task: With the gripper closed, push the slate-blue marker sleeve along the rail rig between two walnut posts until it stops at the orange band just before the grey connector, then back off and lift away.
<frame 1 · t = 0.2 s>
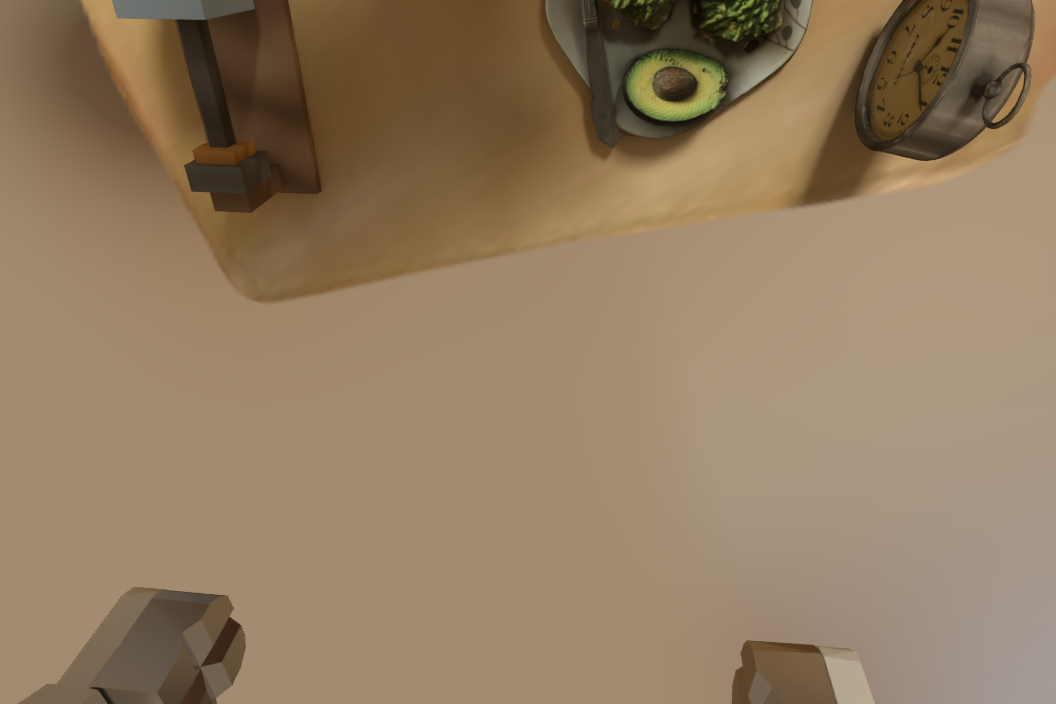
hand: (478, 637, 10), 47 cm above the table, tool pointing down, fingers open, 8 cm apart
salad plate: (672, 11, 47), on the table
alarm clock: (901, 54, 47), on the table
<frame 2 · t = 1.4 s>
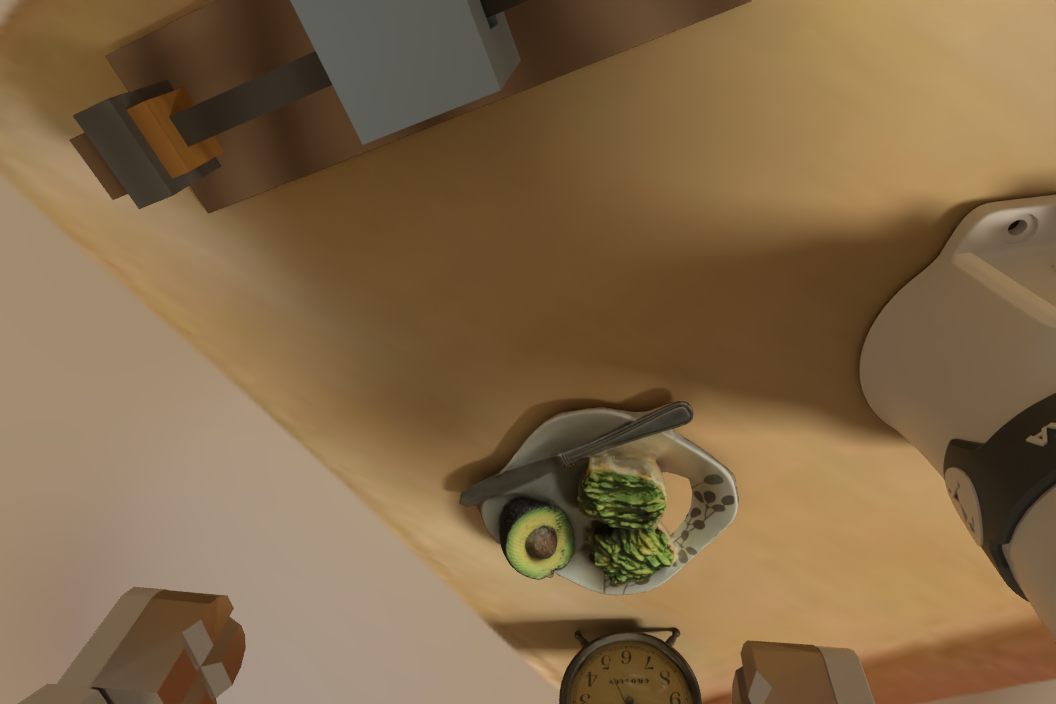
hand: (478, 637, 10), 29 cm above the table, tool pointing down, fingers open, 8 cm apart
salad plate: (598, 495, 49), on the table
sleeve: (417, 26, 26), point 6 cm above the table, slide at 0.0 cm
alarm clock: (628, 635, 57), on the table
rail rig: (411, 28, 32), on the table
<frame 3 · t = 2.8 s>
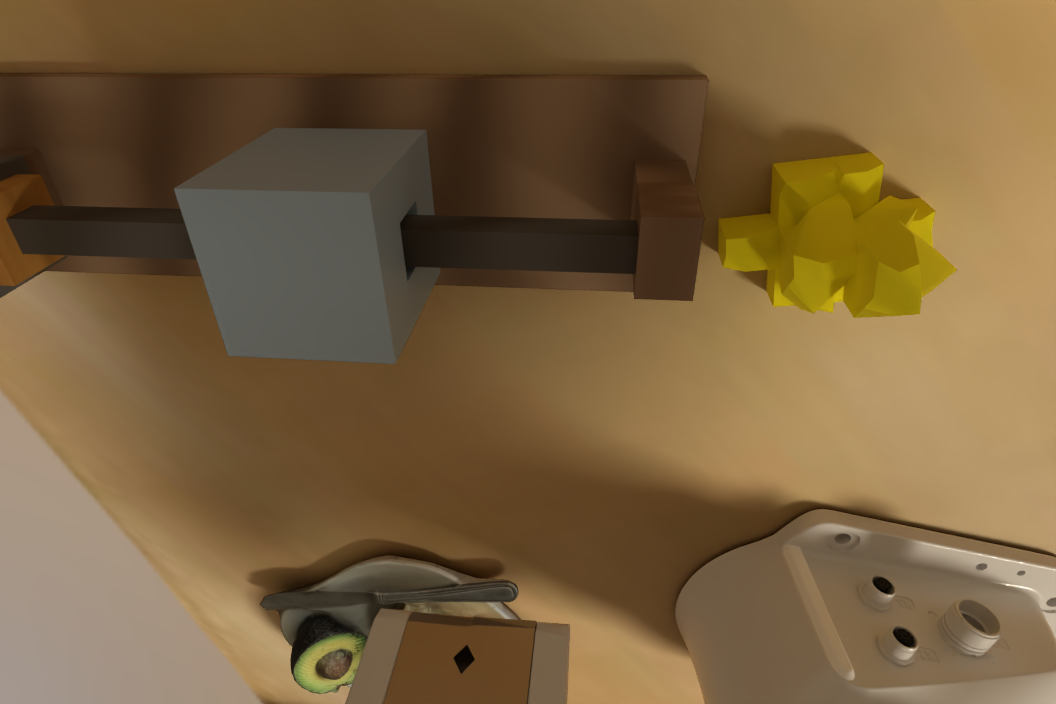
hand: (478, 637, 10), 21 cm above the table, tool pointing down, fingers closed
crumpled paper: (813, 223, 28), on the table
salad plate: (407, 623, 48), on the table
sleeve: (331, 238, 23), point 6 cm above the table, slide at 0.0 cm
rail rig: (336, 182, 29), on the table
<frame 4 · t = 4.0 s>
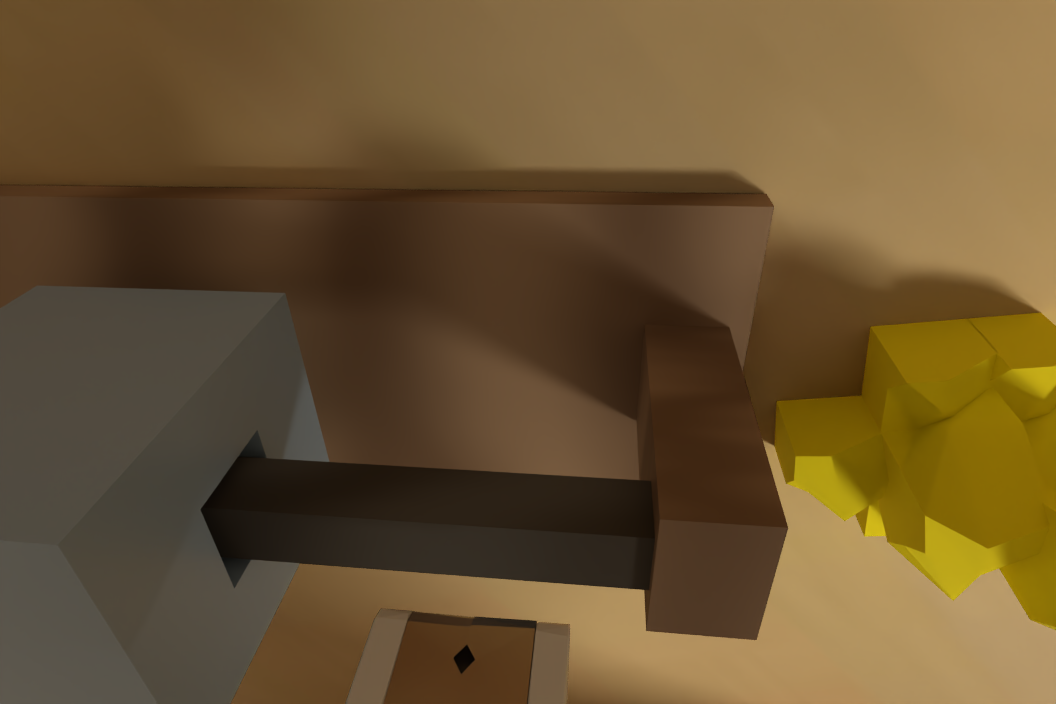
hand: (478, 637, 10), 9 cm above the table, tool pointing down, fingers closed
crumpled paper: (929, 407, 17), on the table
sleeve: (108, 497, 13), point 6 cm above the table, slide at 0.0 cm
rail rig: (180, 339, 18), on the table
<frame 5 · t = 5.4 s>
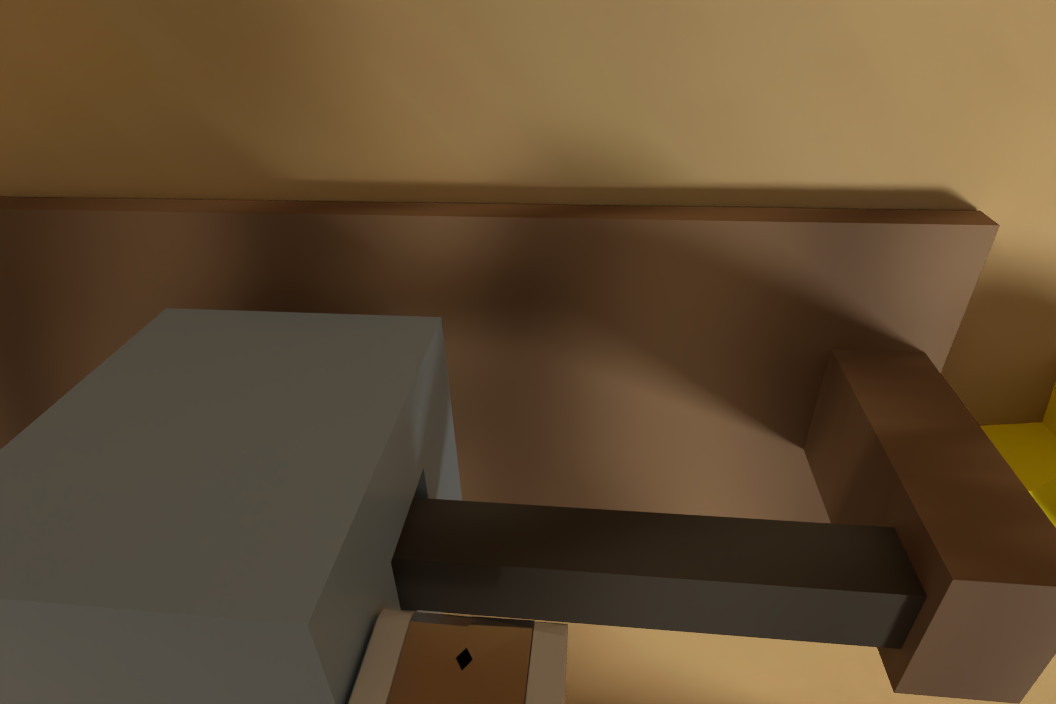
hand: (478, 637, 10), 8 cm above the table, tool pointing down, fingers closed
sleeve: (261, 541, 12), point 6 cm above the table, slide at 0.5 cm, touching gripper
rail rig: (306, 361, 17), on the table
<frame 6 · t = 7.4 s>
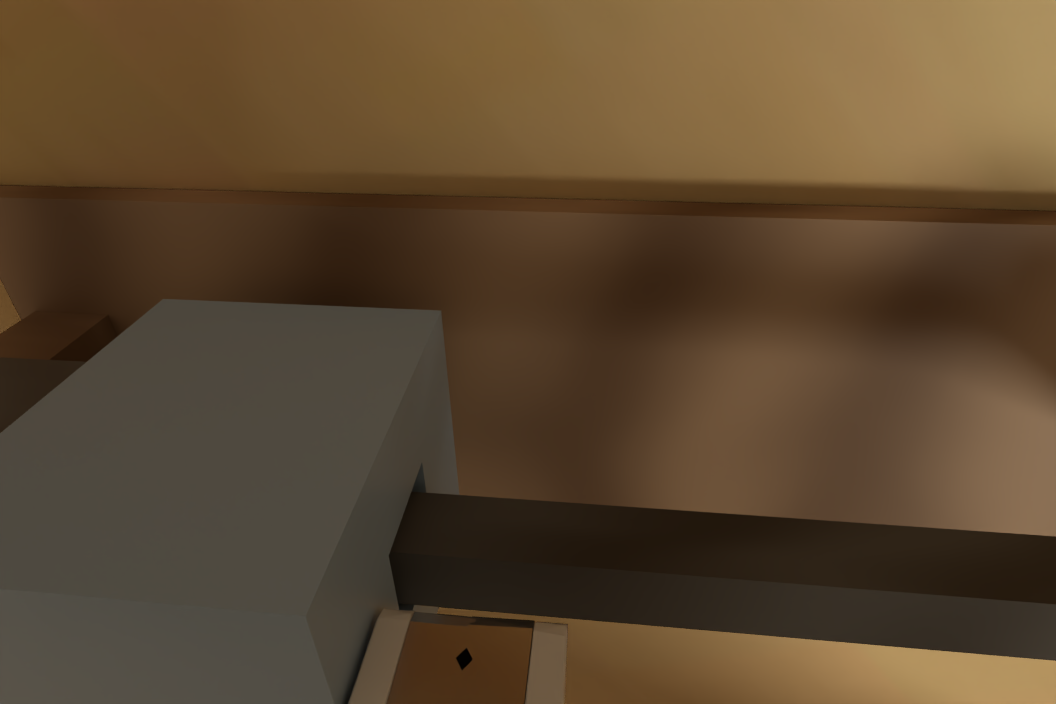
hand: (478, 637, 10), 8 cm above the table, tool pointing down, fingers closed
sleeve: (257, 535, 12), point 6 cm above the table, slide at 9.0 cm, touching gripper
rail rig: (625, 371, 16), on the table
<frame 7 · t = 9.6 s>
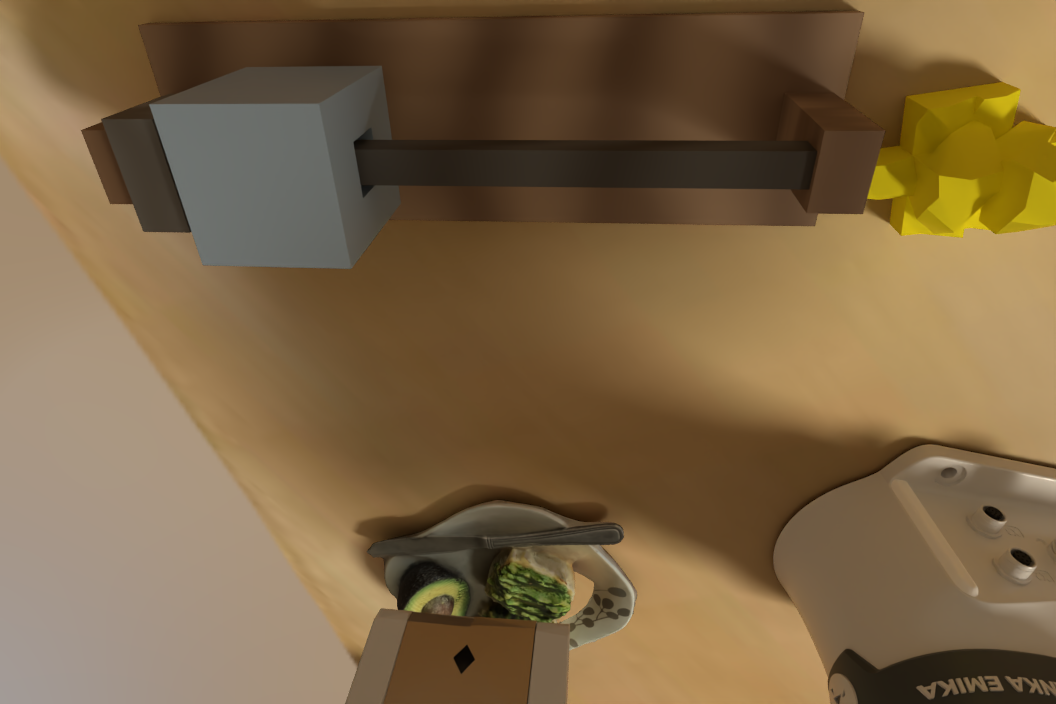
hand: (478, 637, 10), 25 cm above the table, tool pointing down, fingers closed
crumpled paper: (939, 155, 29), on the table
salad plate: (503, 572, 49), on the table
sleeve: (295, 161, 26), point 6 cm above the table, slide at 9.0 cm
rail rig: (489, 124, 30), on the table
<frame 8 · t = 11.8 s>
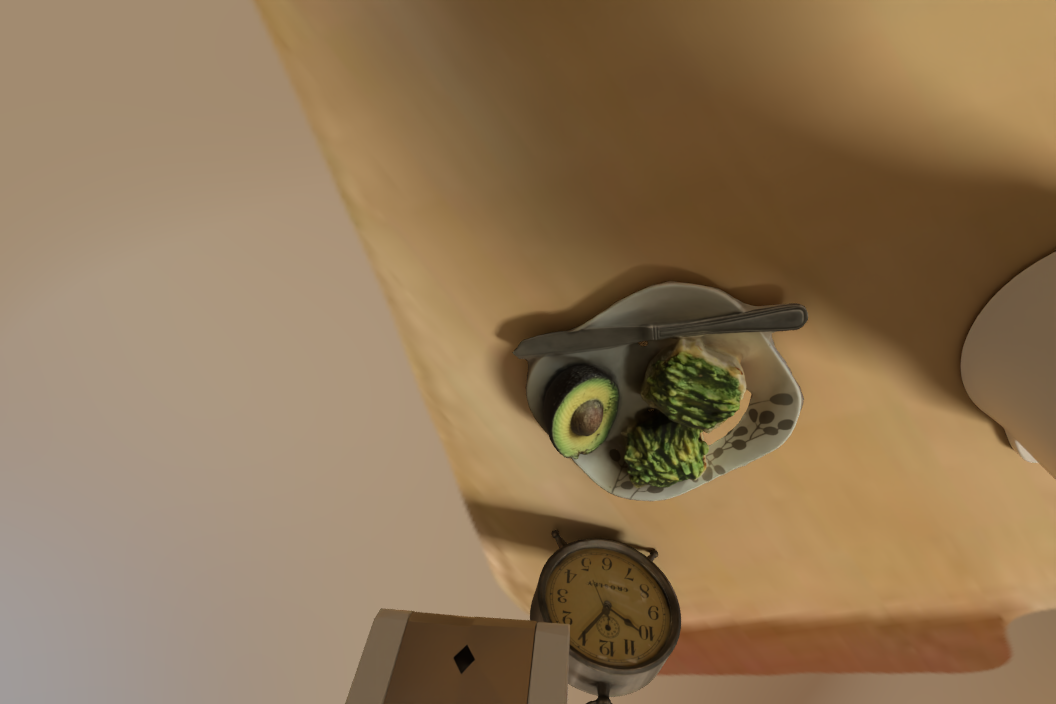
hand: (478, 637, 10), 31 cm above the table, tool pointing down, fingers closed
salad plate: (650, 388, 46), on the table
alarm clock: (602, 546, 55), on the table
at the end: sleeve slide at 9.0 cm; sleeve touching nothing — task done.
